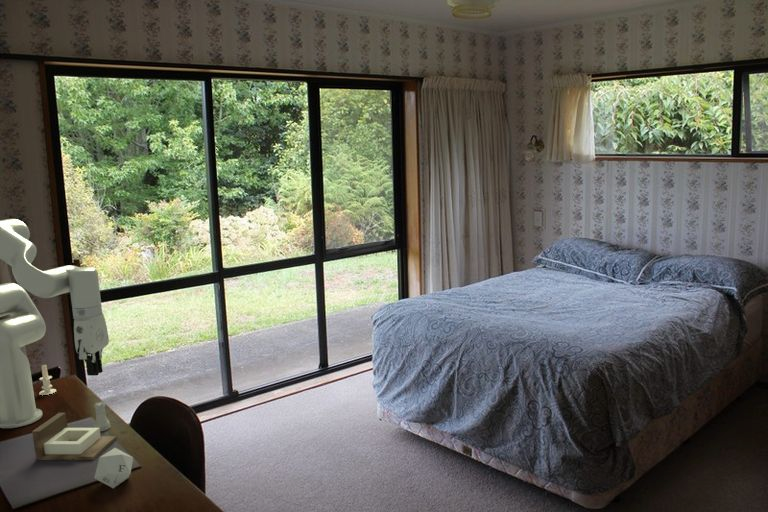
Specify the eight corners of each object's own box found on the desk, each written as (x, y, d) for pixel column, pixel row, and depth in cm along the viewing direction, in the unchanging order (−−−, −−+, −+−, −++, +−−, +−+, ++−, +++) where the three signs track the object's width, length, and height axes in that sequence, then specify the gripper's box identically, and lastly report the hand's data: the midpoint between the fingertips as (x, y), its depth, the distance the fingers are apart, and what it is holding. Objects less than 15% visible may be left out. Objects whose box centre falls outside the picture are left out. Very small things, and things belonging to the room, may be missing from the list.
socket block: (45, 454, 174) (43, 444, 173) (66, 437, 184) (65, 427, 183) (80, 454, 173) (79, 444, 172) (100, 437, 183) (99, 427, 182)
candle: (35, 395, 220) (31, 366, 218) (46, 390, 225) (41, 361, 223) (49, 396, 219) (45, 366, 218) (59, 390, 224) (55, 361, 223)
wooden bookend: (36, 459, 173) (32, 431, 172) (62, 439, 185) (58, 412, 184) (93, 460, 172) (89, 431, 170) (116, 439, 183) (113, 412, 182)
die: (91, 496, 155) (107, 469, 152) (87, 466, 161) (102, 439, 157) (125, 495, 160) (141, 469, 157) (120, 466, 166) (135, 440, 163)
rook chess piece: (104, 432, 188) (101, 406, 187) (90, 431, 189) (87, 405, 188) (114, 425, 193) (110, 400, 191) (100, 425, 194) (97, 399, 192)
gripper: (84, 318, 177) (92, 383, 180) (114, 304, 192) (121, 364, 195) (58, 319, 178) (67, 383, 181) (90, 304, 193) (97, 364, 196)
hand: (95, 373), depth 188 cm, fingers closed
